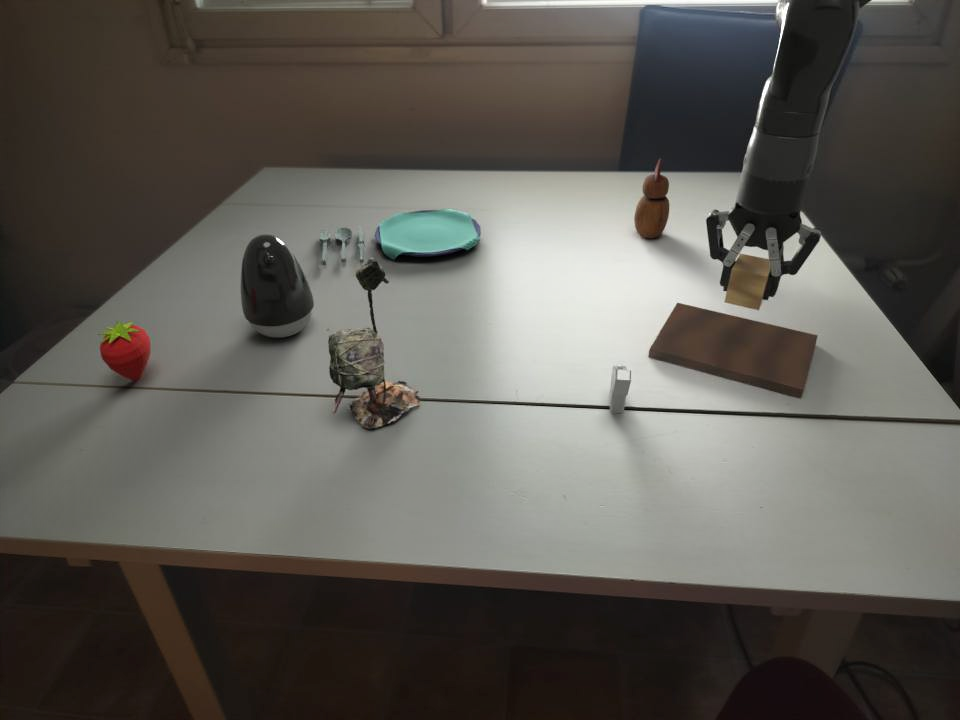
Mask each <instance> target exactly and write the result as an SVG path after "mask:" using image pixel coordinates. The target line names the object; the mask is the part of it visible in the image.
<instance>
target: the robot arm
mask: <svg viewBox="0 0 960 720" xmlns="http://www.w3.org/2000/svg"><path fill="white" fill-rule="evenodd" d="M872 1H873V0H778V1H777V4H776V7H775V12H774V13H775V14H774V17H775V18H774V19H775V24H776V27H777V29H778V31H779V32H780V37H779V40H778V41H779V42H778V48H777V51H776V56H775V60H774V64H773V68H772V72H771V75H770V76H769V77H768V78H767V80H766V81H765V83H764V86H763V88H762V90H761V91H762V92H761V94H760V99H759V103H758V107H757V113H756V118H755V121H754V126H753V130H752V133H751V136H750V138H749V141H748V144H747V148H746V153H745V154H744V157H743V166H742V170H741V175H740V178H739V179H740V180H739V184H738V189H737V193H736V199H735V202H734V203H735V204H734V205H733V206H732V207H731V208H730V210H727V211H720V210H718V209H712V210H711V212H710V213H709V214H708V216H707V217H706V219H705V224H706V232H707V233H706V234H707V239H708V240H707V241H708V248H709V256H710V258H711V259H712V260H718V261H719V262H721V264H722V270H721V274H720V279H719V285H720V287H723V289H722V291H723V292H727V288H728V284H729V280H730V275H731V271H732V268H733V266H734V264H735V262H736V260H737V258H738V256H739V254H741V252H742V250H743V249H744V248H745V247H748V248H758V249H761V250H763V251H767V253H768V254H767V255H768V259H769V260H770V267H771V272H770V274H769V277H768V281H767V284H766V288H765V292H764V296H763V301H769V299H770V298H774V297H775V296H776V294H777V292H778V290H779V289H778V288H779V286H780V285H779V284H780V281H781V277H782V276H784V275H789V276H795V275H797V274H798V272H799V271H800V270H801V268H802V267H803V265H804V264H805V262H806V261H807V260H808V258H809V257H810V255H811V254H812V252H813V251H814V250H815V248H816V246H817V245H818V243H819V242H820V240H821V237H822V234H823V230H822V228H821V227H819V226H815V227H813V228H812V227H811V226H809V225H806V224H804V223H803V220H802V217H801V212H802V211H801V210H802V207H803V203H804V200H805V196H806V193H807V190H808V186H809V182H810V178H811V174H812V171H813V170H814V163H815V160H816V156H817V152H818V146H819V138H820V133H821V129H822V126H823V123H824V119H825V115H826V111H827V108H828V104H829V100H830V94H831V91H832V87H833V85H834V83H835V81H836V80H837V77H838V75H839V73H840V71H841V69H842V66H843V63H844V62H845V59H846V57H847V54H848V53H849V49H850V47H851V44H852V42H853V39H854V36H855V33H856V29H857V25H858V21H859V15H860V9H862V8H863V7H865V6H866V5H867V4H869V3H870V2H872ZM727 221H729V223H730V225H731V228H732V229H733V232H734V233H735V235H736V239H735V240H734V242H733V244H732V245H731V247H730V249H728V248H726V247H725V245H724V236H723V229H724V228H725V227H726V224H727ZM795 234H798V235H799V238H798V244H799V245H800V246H799V248H798V250H797V251H796V252H795V254H794V255H793V257H792V258H791V260H785V255H784V250H785V247H784V244H785V242H786V241H788V240H789V239H791V238H792V237H793V236H794V235H795Z"/></svg>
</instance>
